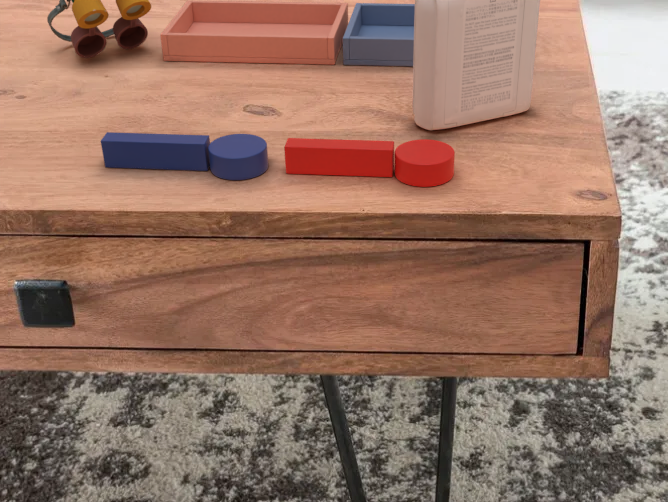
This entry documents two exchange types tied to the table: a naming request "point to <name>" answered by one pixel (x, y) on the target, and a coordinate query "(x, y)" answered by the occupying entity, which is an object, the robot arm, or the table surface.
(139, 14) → the binoculars
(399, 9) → the blue tray
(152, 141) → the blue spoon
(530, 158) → the table surface
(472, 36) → the white plastic bottle
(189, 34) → the coral tray
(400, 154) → the red spoon
